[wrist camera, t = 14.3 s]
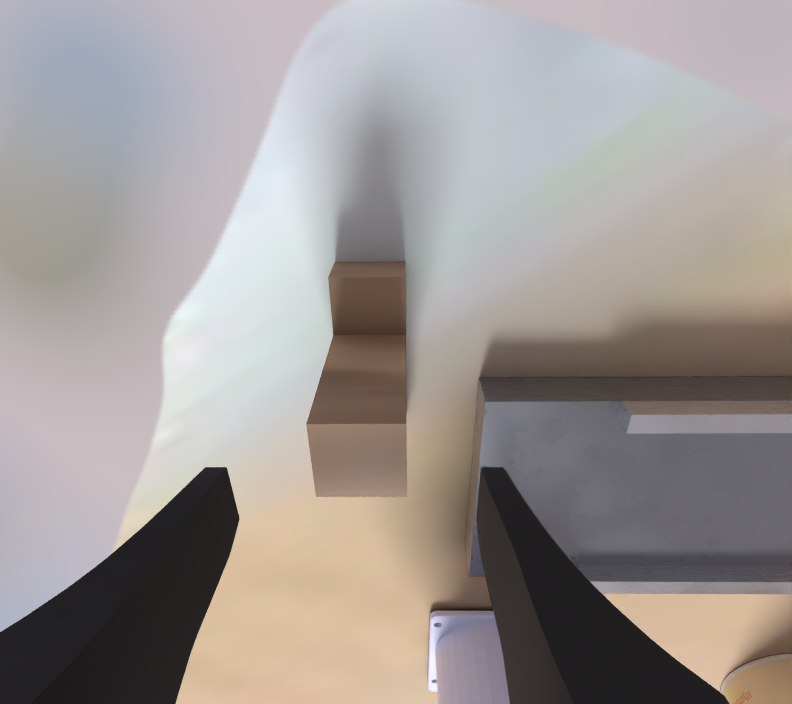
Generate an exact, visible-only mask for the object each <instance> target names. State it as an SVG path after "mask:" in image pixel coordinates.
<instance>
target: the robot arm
mask: <svg viewBox="0 0 792 704" xmlns="http://www.w3.org/2000/svg"><path fill="white" fill-rule="evenodd" d="M238 522H239V515H238V511H237V507H236V503H235V499H234V495H233V491H232V487H231V483H230V479H229V475H228V471H227V467H205V468H204V469H203V470H202V471H201V472H200V473H199V474H198V475H197V476H196V477H195V478H194V479H193V480H192V481H191V482H190V483H189V484H188V485H187V486H186V487H185V488H183V489H182V490H181V491H180V492H179V493H178V494H177V495H176V496H175V497H174V498H173V499H172V500H171V501H170V502H169V503H168V504H167V505H166V506H165V507H164V508H163V509H162V510H161V511H160V512H158V513H157V514H156V515H155V516H154V517H153V518H152V519H151V520H150V521H149V522H148V523H147V524H146V525H145V526H144V527H142V528H141V529H140V530H139V531H138V532H137V533H135V534H134V535H133V536H132V537H131V538H130V539H129V540H127V541H126V542H125V543H124V544H123V545H122V546H121V547H119V548H118V549H117V550H116V551H115V552H114V553H112V554H111V555H110V556H109V557H108V558H106V559H105V560H104V561H103V562H101V563H100V564H99V565H97V567H95V568H94V569H92V570H91V571H90V572H88V573H87V574H86V575H84V576H83V577H82V578H81V579H79V580H78V581H76V582H75V583H74V584H72V585H71V586H70V587H68V588H67V589H65V590H64V591H62V592H61V593H60V594H58V595H57V596H55V597H54V598H52V599H51V600H49V601H48V602H46V603H45V604H43V605H42V606H40V607H39V608H38V609H36V610H35V611H33V612H32V613H30V614H29V615H27V616H26V617H24V618H22V619H21V620H19V621H18V622H16V623H14V624H13V625H11V626H10V627H8V628H6V629H5V630H3V631H2V632H0V704H175V703H176V700H177V696H178V693H179V689H180V686H181V683H182V679H183V676H184V673H185V670H186V666H187V663H188V660H189V656H190V653H191V650H192V648H193V645H194V642H195V639H196V637H197V634H198V631H199V629H200V627H201V624H202V622H203V619H204V617H205V614H206V612H207V609H208V607H209V605H210V602H211V600H212V597H213V595H214V592H215V590H216V588H217V585H218V583H219V580H220V578H221V575H222V573H223V570H224V568H225V565H226V563H227V560H228V558H229V555H230V552H231V548H232V545H233V541H234V538H235V534H236V530H237V526H238ZM476 523H477V532H478V540H479V548H480V555H481V560H482V564H483V569H484V573H485V577H486V582H487V586H488V590H489V594H490V599H491V603H492V607H493V611H433V612H432V613H431V614H430V631H429V661H428V689H429V690H430V691H433V692H437V693H438V704H730V703H729V702H728V700H727V699H726V697H725V696H724V695H723V694H722V693H720V692H719V691H718V690H716V689H715V688H713V687H712V686H711V685H709V684H708V683H707V682H705V681H704V680H703V679H701V678H700V677H699V676H697V675H696V674H695V673H693V672H692V671H691V670H689V669H688V668H686V667H685V666H684V665H682V664H681V663H680V662H678V661H677V660H676V659H675V658H673V657H672V656H671V655H670V654H668V653H667V652H666V651H665V650H664V649H662V648H661V647H660V646H659V645H657V644H656V643H655V642H654V641H653V640H651V639H650V638H649V637H648V636H647V635H646V634H645V633H644V632H642V631H641V630H640V629H639V628H638V627H637V626H636V625H635V624H634V623H632V622H631V621H630V620H629V619H628V618H627V617H626V616H625V615H624V614H622V613H621V612H620V611H619V610H618V609H617V608H616V607H615V606H614V605H613V604H612V603H611V602H610V601H609V600H608V599H607V598H606V597H605V596H604V595H603V594H602V593H601V592H600V591H599V590H598V589H597V588H596V587H595V586H594V585H593V584H592V583H591V582H590V581H589V580H588V579H587V578H586V577H585V576H584V575H583V574H582V572H581V571H580V570H579V569H578V568H577V567H576V566H575V565H574V563H573V562H572V561H571V560H570V559H569V558H568V556H567V555H566V554H565V553H564V552H563V550H562V549H561V548H560V547H559V546H558V544H557V543H556V542H555V541H554V539H553V538H552V537H551V536H550V534H549V533H548V532H547V530H546V529H545V528H544V526H543V525H542V524H541V522H540V521H539V520H538V518H537V517H536V515H535V514H534V513H533V511H532V510H531V508H530V507H529V506H528V504H527V503H526V501H525V500H524V498H523V497H522V495H521V494H520V492H519V491H518V489H517V487H516V486H515V484H514V483H513V481H512V479H511V478H510V476H509V474H508V473H507V471H506V470H505V469H504V468H503V467H481V472H480V482H479V493H478V503H477V513H476Z"/></svg>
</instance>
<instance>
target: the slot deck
mask: <svg viewBox="0 0 792 704" xmlns="http://www.w3.org/2000/svg"><path fill="white" fill-rule="evenodd" d="M481 467H503V468H504V469H505V470H506V471H507V473H508V474H509V476H510V478H511V479H512V481H513V483H514V484H515V486H516V487H517V489H518V491H519V492H520V494H521V495H522V497H523V498H524V500H525V501H526V503H527V504H528V506H529V507H530V508H531V510H532V511H533V513H534V514H535V515H536V517H537V518H538V520H539V521H540V522H541V524H542V525H543V526H544V528H545V529H546V530H547V532H548V533H549V534H550V536H551V537H552V538H553V539H554V541H555V542H556V543H557V544H558V546H559V547H560V548H561V549H562V550H563V552H564V553H565V554H566V555H567V556H568V558H569V559H570V560H571V561H572V562H573V563H574V565H575V566H576V567H577V568H578V569H579V570H580V571H581V572H582V574H583V575H584V576H585V577H586V578H587V579H588V580H589V581H590V582H591V583H592V584H593V585H594V586H595V587H596V588H597V589H598V590H599V591H600V592H601V593H626V594H792V377H603V378H479V384H478V396H477V408H476V420H475V432H474V444H473V456H472V468H471V480H470V492H469V504H468V516H467V528H466V540H465V550H466V558H467V565H468V572H469V576H485V573H484V569H483V564H482V560H481V555H480V548H479V540H478V532H477V523H476V513H477V503H478V493H479V482H480V472H481Z"/></svg>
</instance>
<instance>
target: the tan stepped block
mask: <svg viewBox="0 0 792 704" xmlns="http://www.w3.org/2000/svg"><path fill="white" fill-rule="evenodd" d="M328 279H329V290H330V301H331V312H332V324H333V339H332V342H331V345H330V348H329V352H328V355H327V358H326V362H325V365H324V368H323V371H322V375H321V378H320V381H319V385H318V388H317V391H316V394H315V398H314V401H313V404H312V408H311V411H310V414H309V418H308V421H307V432H308V439H309V447H310V454H311V462H312V469H313V476H314V484H315V491H316V497H407V471H406V274H405V262H335V263H334V266H333V268H332V270H331V273H330V275H329V277H328Z"/></svg>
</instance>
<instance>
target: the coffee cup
mask: <svg viewBox="0 0 792 704" xmlns="http://www.w3.org/2000/svg"><path fill="white" fill-rule="evenodd" d="M720 691H721V693H722V694H723V695H724V696H725V697H726V699H727V700H728V702H729V703H730V704H792V654H780V655H773V656H768V657H764V658H760V659H757V660H754V661H751V662H749V663H747V664H744V665H743V666H741V667H739V668H737V669H736V670H734V671H733V672H731V673H730V674H729V675H728V676H727V677H726V678H725V679H724V681H723V682H722V684H721V689H720Z"/></svg>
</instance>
